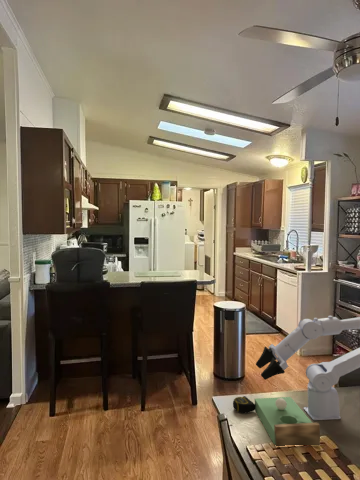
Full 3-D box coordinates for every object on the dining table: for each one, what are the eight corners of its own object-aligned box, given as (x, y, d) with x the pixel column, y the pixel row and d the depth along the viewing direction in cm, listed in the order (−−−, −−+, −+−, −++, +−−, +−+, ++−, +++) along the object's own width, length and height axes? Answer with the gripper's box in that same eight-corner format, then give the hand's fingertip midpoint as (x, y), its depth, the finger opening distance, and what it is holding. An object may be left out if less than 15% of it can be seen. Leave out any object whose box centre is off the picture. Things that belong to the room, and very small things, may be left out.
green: (290, 408, 119) (290, 396, 119) (320, 445, 97) (319, 431, 97) (254, 409, 118) (254, 398, 118) (276, 447, 96) (275, 433, 96)
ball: (284, 406, 112) (284, 395, 112) (288, 412, 108) (288, 400, 108) (274, 407, 112) (273, 396, 112) (277, 412, 108) (277, 401, 108)
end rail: (318, 443, 98) (317, 422, 98) (320, 445, 97) (319, 424, 97) (274, 445, 97) (274, 424, 97) (276, 447, 96) (275, 426, 96)
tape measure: (256, 413, 116) (256, 402, 116) (238, 417, 114) (238, 406, 114) (246, 404, 122) (246, 394, 122) (229, 407, 120) (229, 397, 120)
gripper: (275, 329, 122) (248, 354, 123) (288, 346, 108) (257, 374, 109) (288, 343, 123) (260, 367, 124) (302, 362, 108) (271, 389, 109)
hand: (260, 371), depth 116 cm, fingers open, 7 cm apart
